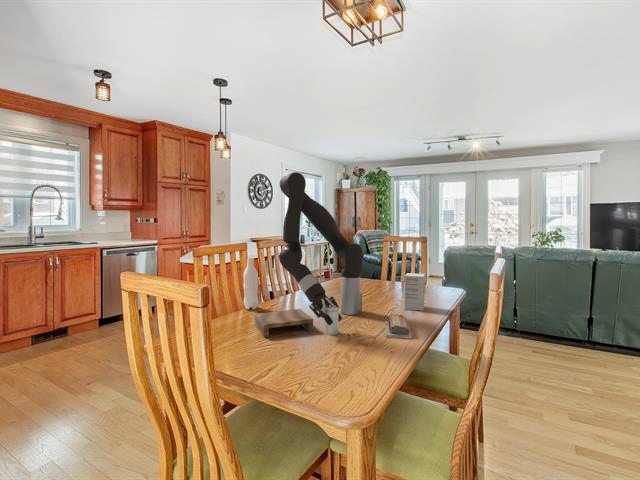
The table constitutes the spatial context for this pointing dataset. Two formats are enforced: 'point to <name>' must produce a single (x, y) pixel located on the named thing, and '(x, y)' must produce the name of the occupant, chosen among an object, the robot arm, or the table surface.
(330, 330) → the tumbler
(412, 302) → the supplement box
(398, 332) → the packaged product
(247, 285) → the water bottle
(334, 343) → the table surface
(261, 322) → the shelf riser
